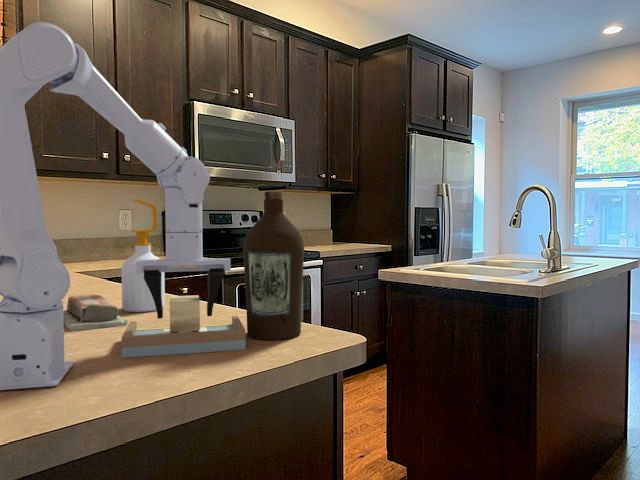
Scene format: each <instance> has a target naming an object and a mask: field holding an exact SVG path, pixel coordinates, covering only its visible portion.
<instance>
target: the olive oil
mask: <svg viewBox="0 0 640 480" xmlns="http://www.w3.org/2000/svg"><path fill="white" fill-rule="evenodd" d="M283 194H284V193H283V191H264V195H263V197H264V199H263V211H264V212H263V214H262V216H260V218H259V219H258V220H257V221H256V222H255V224H254V225H253V226H252V227H251V228H250V229H249V230H248V231H247V233H246V235H245V237H244V242H243V246H242V252H243V254H242V255H243V268H244V283H245V284H244V285H245V288H244V289H245V301H246V302H245V306H246V307H245V308H246V309H245V310H246V331H247V336H248V337H250V338H251V339H255V340H256V339H257V340H263V341H279V340H281V341H282V340H289V339H293V338H296V337H299V336H300V335H301V334H302V333H301V332H302V302H303V281H304V279H303V278H304V260H305V259H304V258H305V245H304V240H303V238H302V237H303V236H302V234H301V233H300V231H299V230H298V229H297V227H296V226H295V225H294V224H293V223H292V222H291V221H290V220H289V219H288V218H287V216H286V215H285V214H284V199H283Z"/></svg>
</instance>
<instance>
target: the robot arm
mask: <svg viewBox="0 0 640 480" xmlns="http://www.w3.org/2000/svg"><path fill="white" fill-rule="evenodd" d="M48 83H51V86H50V88H49V92H52V93H57V94H58V93H59V94H65V95H71V96H77V97H79V98H80V99H82V100H83V101H84V102H85V103H86V104H87V105H89V106H90V107H91V108H92V109H93V110H94V111H96V112H97V113H98V114H99V115H100V116H102V117H103V118H104V119H105V120H107V121H108V122H109V123H110V124H111V125H112V126H113V127H114V128H116V129H117V130H118V131H119V132H121V134H123V135H124V145H125V148H127V149H128V150H129V151H130V152H131V153H132V154H133V155H134V156H135V157H136V158H138V160H140V161H141V162H142V163H143V164H144V165H145V166H146V167H147V168H148V169H149V170H150V171H152V173H153V174H155V176H156V178H157V184H158V185H159V187H160V188H161V189H162V190H164V193H165V194H164V197H165V198H164V199H165V200H164V202H165V203H164V206H165V209H164V210H165V258H161V259H160V258H159V259H155V260H137V261H136V273H144V280H145V282H146V284H147V286H148V288H149V290H150V292H151V294H152V297H153V300H154V303H155V306H156V310H157V311H156V314H157V315H156V316H157V319H159V320H161V319H163V318H164V313H163V312H164V308H163V306H162V296H161V272H164V273H174V272H175V273H177V272H179V273H181V272H207V305H206V316H207V317H212V316H213V309H214V303H215V300H216V297H217V294H218V291H219V289H220V286H221V284H222V282H223V279H224V277H225V272H228V271H231V264H232V262H231V258H230V257H229V258H228V257H227V258H226V257H225V258H224V257H223V258H219V257H218V258H213V257H209V258H208V257H204V256H203V254H204V253H203V251H204V250H203V247H204V246H203V200H204V199H205V198H204V194H205V190H206V188H208V186H209V183H210V180H211V175H210V174H208V172H207V168H206V166H205V163H203V162H202V161H201V160H200V159H199V158H197V157H196V156H195V157H194V156H189V155H188V153H187V151H188V150H187V149H185V147H183V146H180V145H179V144H178V143H177V142H176V141H175V140H174V139H173V138H172V137H171V136H170V134H168V133H167V132H166V129H167V128H166V127H165V125H164V124H163V123H161V122H159V123H157V122H156V121H155V120H153V119H143V118H141V117H140V116H139V115H138V113H137V112H136V111H134V109H133V108H132V107H131V105H130V104H128V102H127V101H126V100H125V99H124V98H123V97H122V96H121V95H120V94H119V93H118V92H117V90H115V88H114V87H113V85H112V84H110V82H108V81H107V79H106V78H105V77H104V76H103V75H102V74H101V73H100V72H99V71H98V70H97V68H96V67H95V65H94V64H93V63H92V60H90V57H89V56H88V53H86V50H85V49H84V48H82V46H80V45H79V44H77V43H76V42H75V43H74V41H73V40H72V38H71V37H70V35H69V33H67V32H66V31H65V30H64V29H63V28H60V26H58V25H56V24H54V23H51V22H46V21H39V22H38V21H37V22H35V23H31V24H30V25H28V26H27V27H25V28H23V29H22V30H21V31H19V32H18V33H16V34H15V35H13V36H12V37H11V38H10V39H9V40H8V41H7V42H6V43H4V44H3V45H1V46H0V296H2V298H1V300H0V391H5V390H7V391H8V390H19V389H21V390H22V389H30V388H31V389H32V388H44V387H45V388H46V387H55V386H58V385H59V383H60V382H61V381H62V380H63V378H64V377H65V376H66V374H67V373H68V372H69V371H70V369H71V368H72V367H73V365H74V361H71V360H69V361H68V360H67V361H66V360H65V324H64V314H63V311H64V301H63V299H64V298H65V297H66V296H67V294H68V292H69V289H70V286H71V276H70V273H69V270H68V269H67V267H66V266H65V265H64V264H63V262H62V261H61V260H60V257H59V254H58V248H57V245H56V244H55V242H54V240H53V239H52V237H51V236H50V234H49V233H48V231H47V228H46V227H47V225H46V220H45V215H44V209H43V204H42V197H41V192H40V186H39V181H38V180H39V179H38V174H37V169H36V168H37V167H36V165H35V158H34V152H33V148H32V147H33V146H32V140H31V134H30V131H29V130H30V129H29V123H28V119H27V113H26V107H25V106H26V103H28V101H30V99H31V98H32V97H33V96H35V95H36V93H38V91H40V90H41V89H42V87H43V86H44V85H46V84H48ZM175 267H177V268H175ZM178 267H179V268H178Z"/></svg>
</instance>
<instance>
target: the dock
mask: <svg viewBox="0 0 640 480" xmlns="http://www.w3.org/2000/svg"><path fill="white" fill-rule="evenodd" d="M137 324H138V323H137V320H132V321H131V320H130V321H129V323H128V324H127V325H126V329H125V331H124V332H123V334H122V336H121V358H122V359H125V358H142V357H157V356H170V355H183V354H184V355H185V354H187V355H188V354H199V353H201V354H202V353H213V352H229V351H242V350H244V351H245V350H246V349H247V348H246V347H247V346H246V343H247V342H246V338H247V337H246V329H245V327H244V325H243V322H242V321H241V320H240V318H239V316H238V315H232V316H231V323H226V324H207V325H200V330H199V332H192V331H180V332H178V333H171V332H170V326H169V327H156V328H155V327H154V328H153V327H152V328H140V329H139V328H137Z"/></svg>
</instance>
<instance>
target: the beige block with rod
mask: <svg viewBox="0 0 640 480" xmlns="http://www.w3.org/2000/svg"><path fill="white" fill-rule="evenodd" d="M200 301H201V300H200V296H199V294H198V295H175V296H174V295H172V296H170V300H169V327H170V332H171V333H178V332H180V331H192V332H199V330H200V326H201V317H200V316H201V306H200V304H201V303H200Z"/></svg>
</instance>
